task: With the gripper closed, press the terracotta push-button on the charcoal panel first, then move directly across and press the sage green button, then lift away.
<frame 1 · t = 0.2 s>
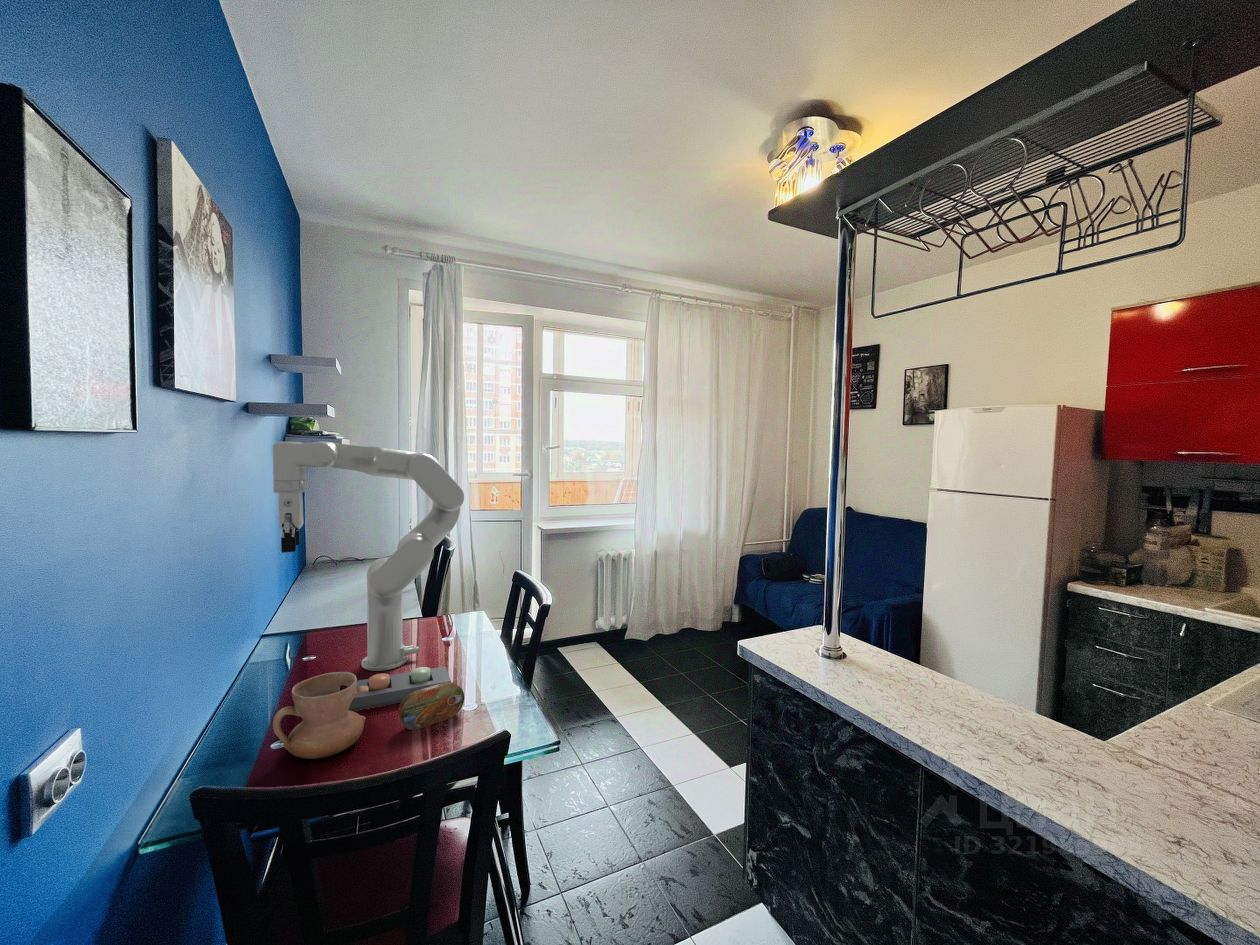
hand: (290, 548, 142), 36 cm above the table, tool pointing down, fingers open, 9 cm apart
ceramic jug: (323, 748, 112), on the table
sage button: (420, 676, 138), point 4 cm above the table, slide at 0.0 cm
button panel: (400, 694, 136), on the table
terracotta button: (379, 683, 134), point 4 cm above the table, slide at 0.0 cm
tin: (431, 722, 124), on the table
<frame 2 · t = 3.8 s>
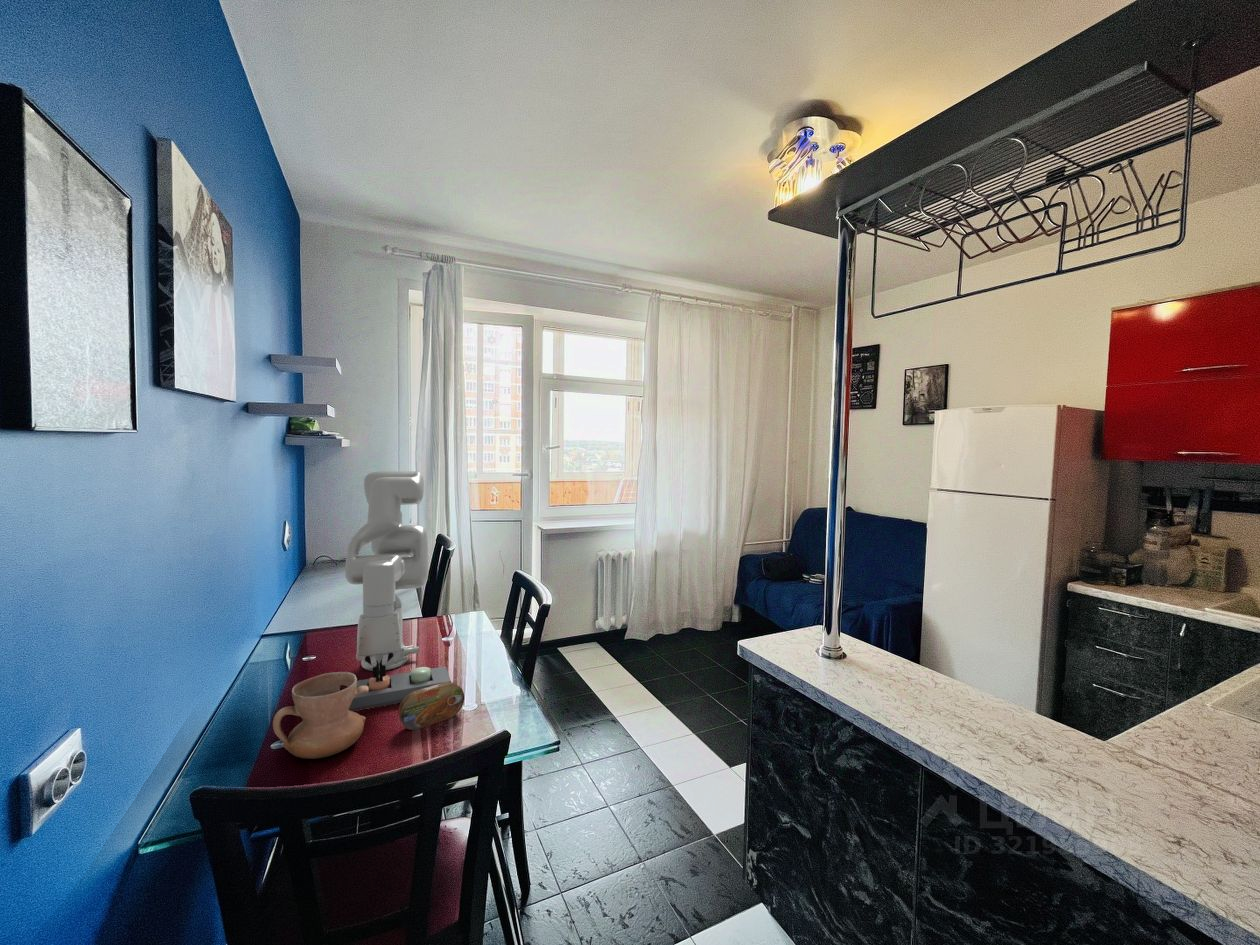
hand: (379, 679, 133), 5 cm above the table, tool pointing down, fingers closed
terracotta button: (379, 684, 134), point 4 cm above the table, slide at 0.3 cm, touching gripper
everything else where it was.
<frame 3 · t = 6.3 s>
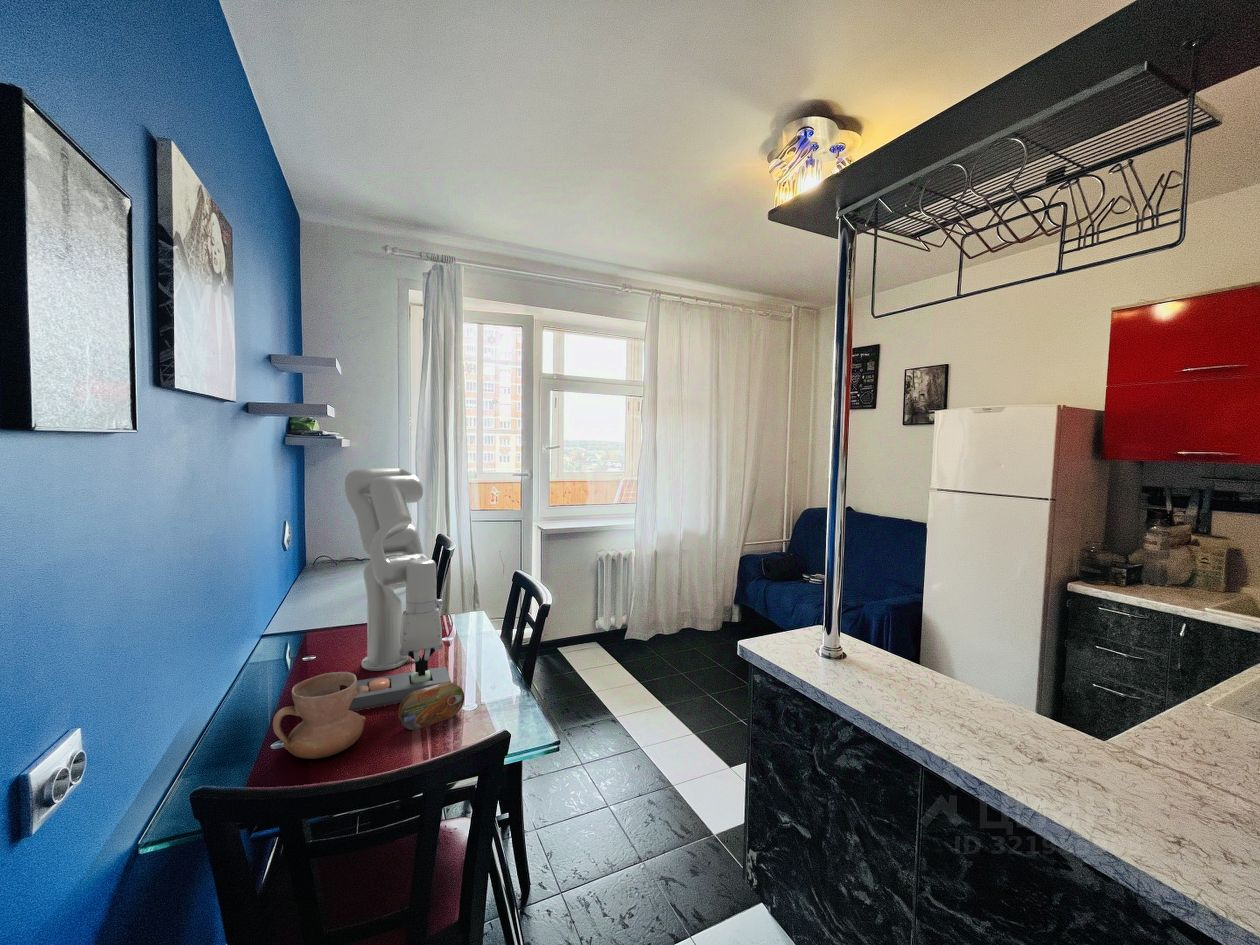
hand: (421, 673, 138), 5 cm above the table, tool pointing down, fingers closed
sage button: (420, 678, 138), point 3 cm above the table, slide at 0.7 cm, touching gripper
terracotta button: (379, 687, 134), point 3 cm above the table, slide at 1.3 cm
everything else where it was.
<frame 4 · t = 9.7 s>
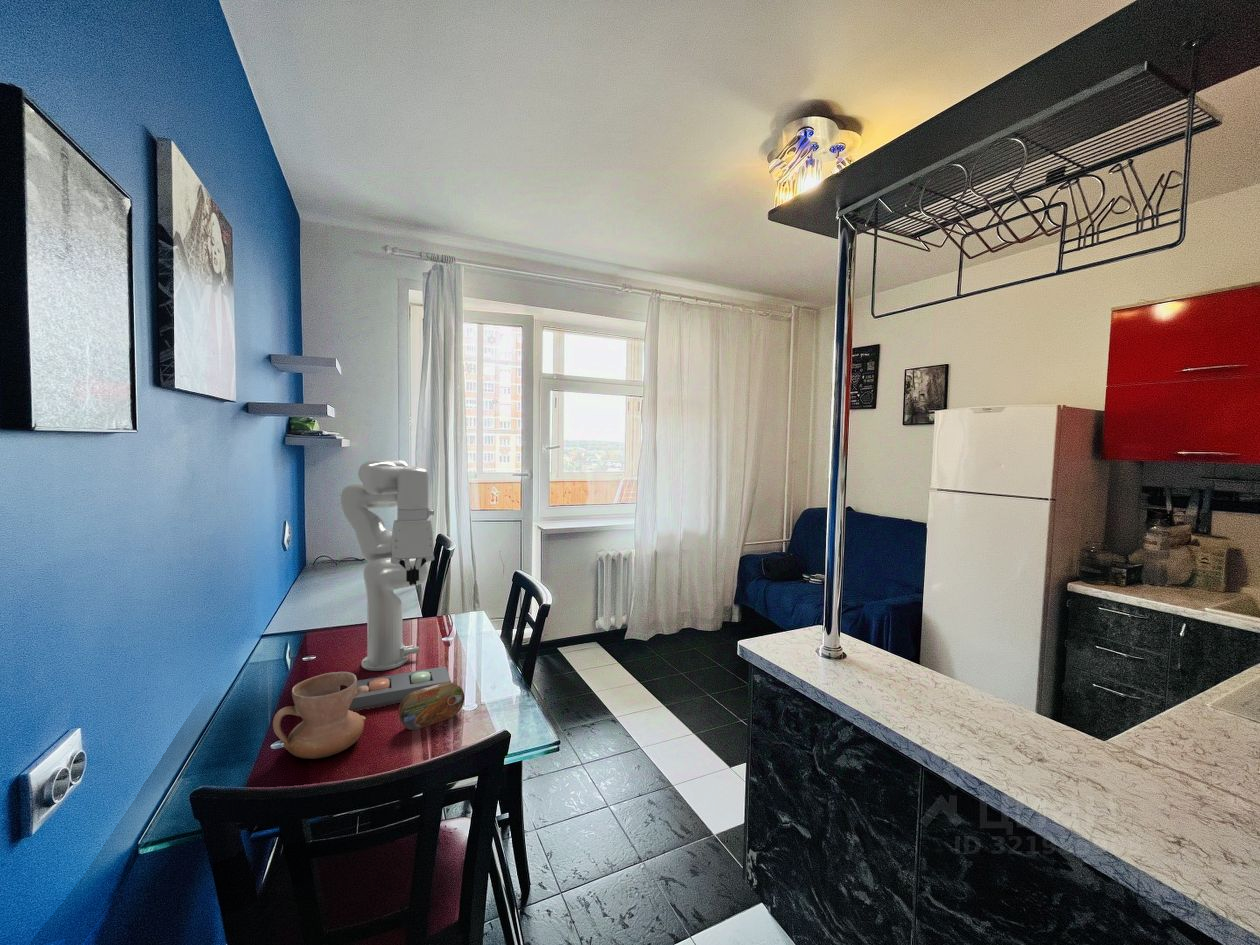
hand: (412, 583, 137), 29 cm above the table, tool pointing down, fingers closed
sage button: (420, 680, 138), point 3 cm above the table, slide at 1.3 cm
everything else where it was.
at the end: terracotta button slide at 1.3 cm; sage button slide at 1.3 cm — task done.
